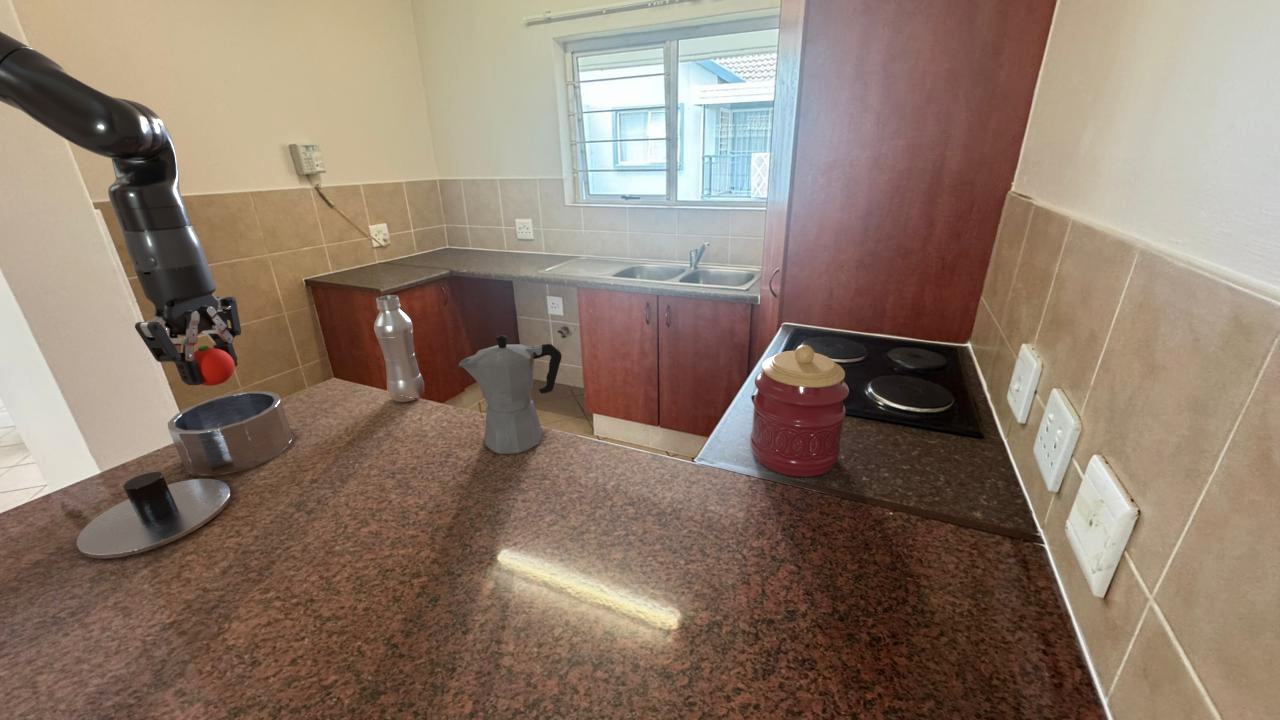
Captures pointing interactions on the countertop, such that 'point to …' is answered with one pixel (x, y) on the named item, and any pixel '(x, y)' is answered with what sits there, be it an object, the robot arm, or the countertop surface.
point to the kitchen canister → (798, 413)
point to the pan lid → (152, 515)
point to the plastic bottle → (398, 350)
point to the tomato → (214, 365)
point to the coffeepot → (511, 392)
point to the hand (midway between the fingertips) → (213, 375)
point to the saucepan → (230, 433)
